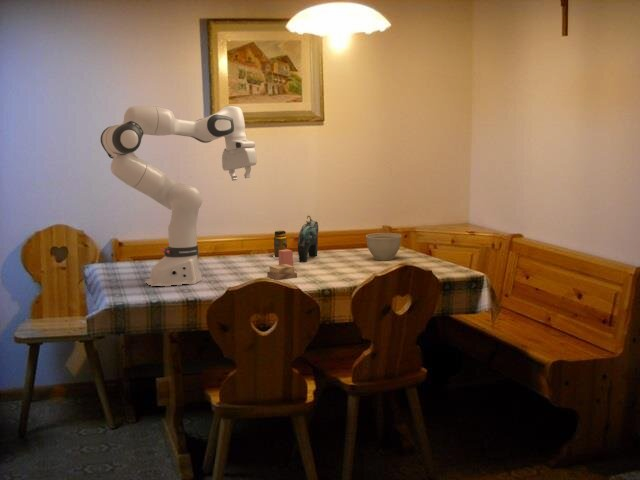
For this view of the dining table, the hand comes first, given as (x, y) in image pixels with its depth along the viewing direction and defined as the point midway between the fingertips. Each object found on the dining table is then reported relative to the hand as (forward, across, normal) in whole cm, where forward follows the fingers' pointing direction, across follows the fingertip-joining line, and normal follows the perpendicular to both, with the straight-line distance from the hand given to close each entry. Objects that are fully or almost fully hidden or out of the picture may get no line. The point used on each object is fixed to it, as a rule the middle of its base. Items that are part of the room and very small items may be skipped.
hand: (240, 179), depth 315 cm
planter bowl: (+43, +11, +66) cm, 79 cm away
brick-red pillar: (+41, +2, +15) cm, 43 cm away
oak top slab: (+40, +11, +7) cm, 42 cm away
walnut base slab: (+42, +11, +7) cm, 44 cm away
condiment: (+37, -30, +37) cm, 60 cm away
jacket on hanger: (+39, -14, +42) cm, 59 cm away
